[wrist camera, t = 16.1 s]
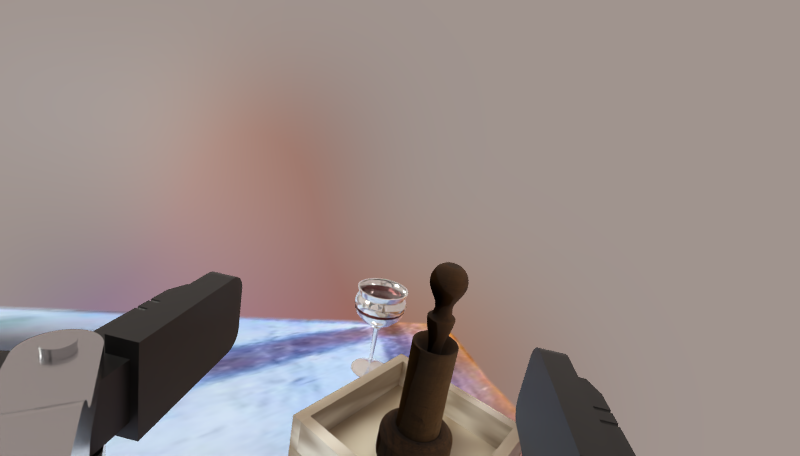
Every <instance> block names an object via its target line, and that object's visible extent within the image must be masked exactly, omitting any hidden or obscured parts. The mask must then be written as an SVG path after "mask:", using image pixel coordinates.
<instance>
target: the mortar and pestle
mask: <svg viewBox="0 0 800 456" xmlns="http://www.w3.org/2000/svg"><path fill="white" fill-rule="evenodd" d="M430 286H431V289H432V293H433V295H434V299H435V308H434V310H432V311H430V312H429V313H428V315H427V327H428V330H426V331H420V332H418V333H416V334H415V335H414V336H413V340H412V345H411V350H410V355H409V360H408V365H407V370H406V375H405V380H404V385H403V390H402V395H401V400H400V404H399V408H395V409H393V410H391V411H389V412H388V413H386V414H385V415H384V417H383V418H382V420H381V422H380V425H379V430H378V435H377V440H376V454H377V456H450V452H451V448H452V442H453V438H452V433H451V430H450V428H449V427H448V425H447V424H446V423H445V421H444V420H443V419H442V418H443V414H444V409H445V405H446V400H447V396H448V391H449V387H450V383H451V378H452V374H453V370H454V366H455V362H456V358H457V354H458V349H459V348H458V345H457V343H456V342H455V341H454V340H453V339H452V338H451V337H449V334H450V332H451V330H452V328H453V326H454V323H455V318H454V316H453V315H452V309H453V306H454V304H455V303H456V302H457V301H458V300H459V299H460V298H461V297H462V296H463V295H464V293H465V292H466V290H467V288H468V276H467V273H466V271H465V270H464V269H463V268H462V267H461V266H459V265H457V264H455V263H450V262H447V263H442V264H440V265H438V266H437V267H436V268H435V269H434V271H433V272H432V274H431V277H430Z"/></svg>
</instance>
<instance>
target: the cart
mask: <svg viewBox="0 0 800 456" xmlns="http://www.w3.org/2000/svg"><path fill="white" fill-rule="evenodd" d="M408 360H409V358H408V357H406V356H404V355H403V354H400V355H399V356H397V357H395V358H393V359H392V360H390V361H388V362H386V363H385V364H383V365H381V366H379V367H377V368H376V369H374V370H372V371H370V372H369V373H367V374H365V375H363V376H362V377H360V378H358V379H356V380H354V381H353V382H351V383H349V384H347V385H346V386H344V387H342V388H340V389H339V390H337V391H335V392H333V393H331V394H330V395H328V396H326V397H324V398H323V399H321V400H319V401H317V402H316V403H314V404H312V405H310V406H308V407H307V408H305V409H303V410H301V411H300V412H298V413H296V414H294V415H293V422H292V430H291V438H290V446H289V454H288V456H377V454H376V440H377V435H378V430H379V425H380V422H381V420H382V418H383V417H384V415H385V414H386V413H388V412H389V411H391V410H393V409H395V408H399V404H400V400H401V395H402V390H403V385H404V380H405V375H406V370H407V365H408ZM442 419H443V420H444V421H445V423H446V424H447V425H448V427H449V428H450V430H451V433H452V438H453V442H452V448H451V452H450V456H520V452H521V445H520V441H519V436H518V431H517V426H516V422H514V421H513V420H511V419H509V418H508V417H506V416H504V415H503V414H501V413H499V412H498V411H496V410H494V409H493V408H491V407H489V406H488V405H486V404H484V403H483V402H481V401H479V400H478V399H476V398H474V397H473V396H471V395H469V394H468V393H466V392H464V391H463V390H461V389H459V388H458V387H456V386H454V385H453V384H451V383H450V387H449V391H448V396H447V400H446V405H445V409H444V414H443V418H442Z"/></svg>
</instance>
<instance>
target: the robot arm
mask: <svg viewBox="0 0 800 456" xmlns="http://www.w3.org/2000/svg"><path fill="white" fill-rule="evenodd" d="M241 293H242V282H241V280H240V278H238V277H234V276H229V275H225V274H221V273H217V272H210V273H208V274H206V275H204V276H203V277H201V278H199V279H198V280H196V281H194V282H192V283H191V284H187V285H183V286H179V287H176V288H172V289H169V290H166V291H164V292H163V293H161V294H159V295H157V296H156V297H154V298H152V299H151V301H147V302H145V303H143V304H141V305H140V306H138V308H134V309H132V310H131V311H129V312H127V313H125V314H123V315H122V316H120V317H118V318H116V319H114V320H113V321H111V322H109V323H107V324H106V325H104V326H102V327H100V328H98V329H97V330H95V331H88V330H82V329H66V330H58V331H52V332H48V333H44V334H40V335H37V336H34V337H32V338H29V339H27V340H25V341H23V342H21V343H20V344H18V345H17V346H15V347H14V348H13V349H12V350H11V351H0V456H105V444H106V443H107V442H108V441H109V440H110V439H111V438H113V437H114V436H115V435H116V436H120V437H124V438H127V439H131V440H135V441H139V440H140V439H141V438H142V437H143V436H144V435H145V434H146V433H147V432H148V431H149V430H150V429H151V428H152V427H153V426H154V425H155V424H156V423H157V422H158V421H159V420H160V419H161V418H162V417H163V416H164V415H165V414H166V413H167V412H168V411H169V410H170V409H171V408H172V407H173V406H174V405H175V404H176V403H177V402H178V401H179V400H180V399H181V398H182V397H183V396H184V395H185V394H186V393H187V392H188V391H189V390H190V389H191V388H192V387H193V386H194V385H195V384H196V383H198V382H199V381H200V380H201V379H202V378H203V377H204V376H205V375H206V374H207V373H208V372H209V371H210V370H211V369H212V368H213V367H214V366H215V365H216V364H217V363H218V362H219V361H220V360H221V359H222V358H223V357H224V356H225V355H226V354H227V353H228V352H229V351H230V349H231V348H232V346H233V344H234V342H235V340H236V337H237V334H238V328H239V317H240V306H241ZM610 411H611V410H610V408H609V407H608V405H607V403H606V401H605V399H604V397H603V396H602V394H601V393H600V392H599V391H598V390H597V389H596V388H595V387H594V386H593V385H591V383H590V382H588V381H587V380H586V379H584V378H580V377H578V375H577V373H576V371H575V370H574V368H573V365H572V363H571V361H570V359H569V357H568V356H567V355H566V354H563V353H559V352H554V351H549V350H545V349H541V348H535V349H534V350H533V352H532V354H531V358H530V360H529V364H528V367H527V370H526V373H525V377H524V380H523V383H522V387H521V390H520V393H519V397H518V401H517V405H516V426H517V431H518V436H519V441H520V445H521V450H522V455H523V456H636V455H635V453H634V452H633V450H632V448H631V446H630V444H629V443H628V441H627V439H626V437H625V435H624V434H623V432H622V430H621V428H620V427H618V423H617V421H616V419H615V417H614V416H613V414H612V413H610Z"/></svg>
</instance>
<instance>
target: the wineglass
mask: <svg viewBox="0 0 800 456" xmlns="http://www.w3.org/2000/svg"><path fill="white" fill-rule="evenodd" d="M358 288H359V289H360V291H359V292H358V293H357V296H356V298H355V308H356V311H357V313H358V314H359V316H360V317H361V318H362V319H363V321H364V322H366V323H367V324H369V325H371V326H372V328H373V334H372V342H371V349H370V357H369V358H359V359H357V360H355V361H354V362H353V363H352V365H351V369H352V371H353V372H354V373H355V374H356V375H357V376H359V377H362V376H363V375H365V374H367V373H369V372H370V371H372V370H374V369H376V368H377V367H379V366H381V365H383V363H382V362H381V361H378V360H376V359H373V354H374V349H375V345H376V340H377V336H378V331H379V329H381V328H382V327H388V326H390V325H392V324H394V323H396V322H397V321H399V320H400V319H401V317H402V316H403V314H404V311H405V308H406V301H405V298H406V297H407V295H408V290H407V289H406V288H405V287H404V286H402V285H401V284H399V283H397V282H394V281H391V280H386V279H380V278H370V279H365V280H362V281H360V282H359V284H358Z"/></svg>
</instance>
